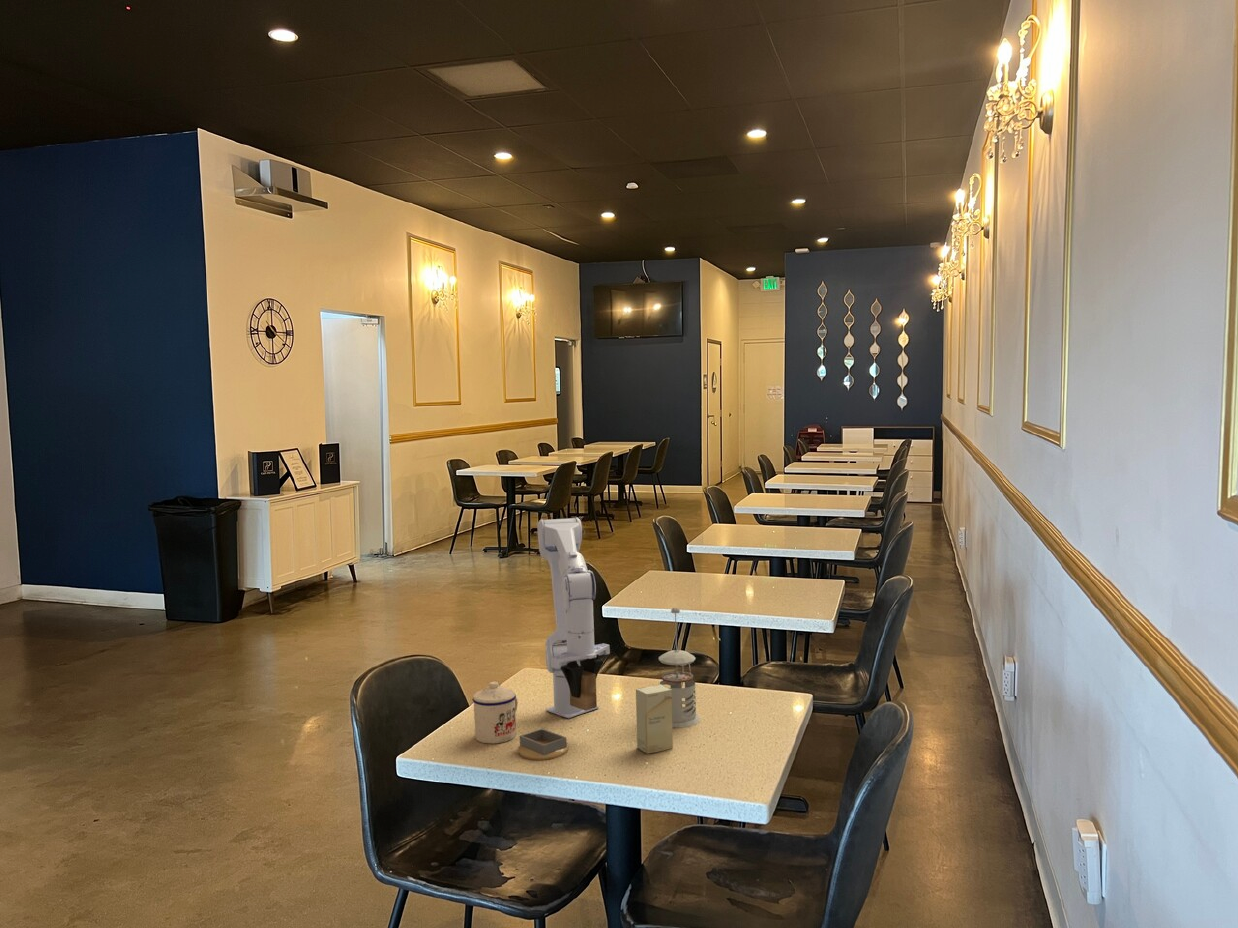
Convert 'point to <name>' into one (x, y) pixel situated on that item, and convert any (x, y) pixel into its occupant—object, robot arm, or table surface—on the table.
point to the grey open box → (542, 745)
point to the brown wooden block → (586, 692)
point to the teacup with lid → (495, 714)
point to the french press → (674, 679)
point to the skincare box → (654, 718)
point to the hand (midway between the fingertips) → (582, 694)
